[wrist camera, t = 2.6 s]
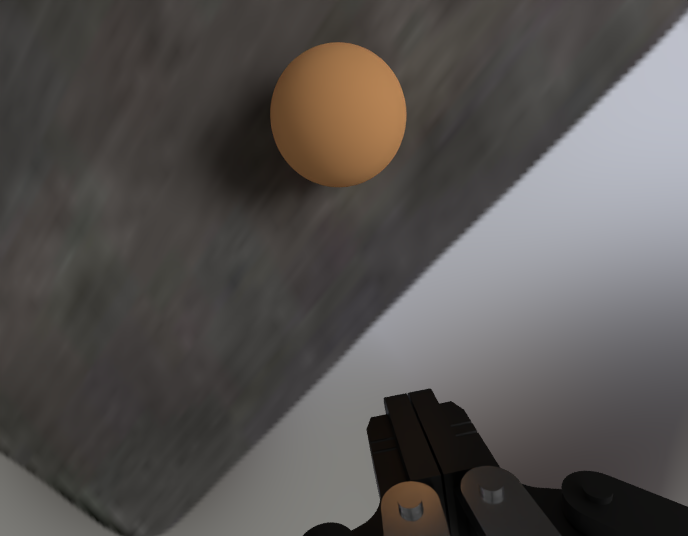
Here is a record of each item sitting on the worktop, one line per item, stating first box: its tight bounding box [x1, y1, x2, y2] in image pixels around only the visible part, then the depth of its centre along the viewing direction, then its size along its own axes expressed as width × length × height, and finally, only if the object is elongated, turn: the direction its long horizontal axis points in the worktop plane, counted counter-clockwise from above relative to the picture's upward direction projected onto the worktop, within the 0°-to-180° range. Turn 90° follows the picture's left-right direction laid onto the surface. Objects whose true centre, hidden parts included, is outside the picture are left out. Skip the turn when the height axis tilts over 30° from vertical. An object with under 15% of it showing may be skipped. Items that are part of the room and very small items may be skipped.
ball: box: [270, 42, 406, 187], centre depth 17 cm, size 6×6×6 cm
